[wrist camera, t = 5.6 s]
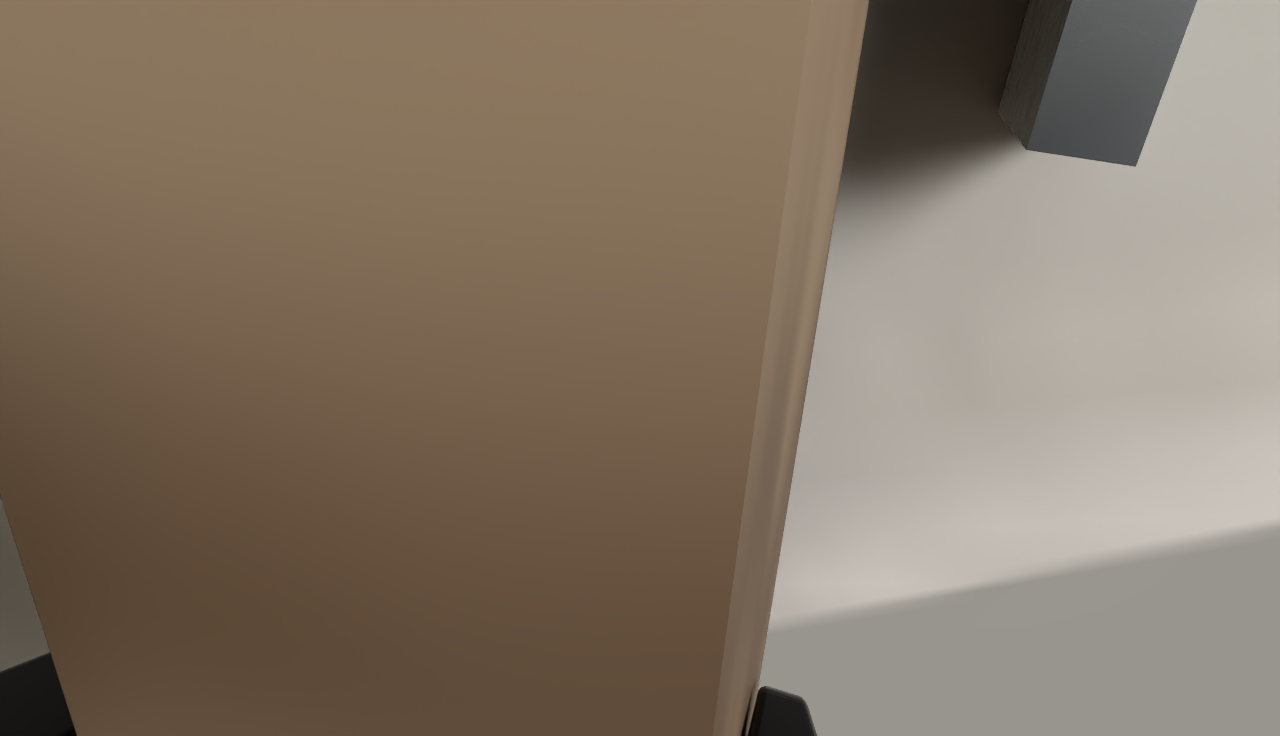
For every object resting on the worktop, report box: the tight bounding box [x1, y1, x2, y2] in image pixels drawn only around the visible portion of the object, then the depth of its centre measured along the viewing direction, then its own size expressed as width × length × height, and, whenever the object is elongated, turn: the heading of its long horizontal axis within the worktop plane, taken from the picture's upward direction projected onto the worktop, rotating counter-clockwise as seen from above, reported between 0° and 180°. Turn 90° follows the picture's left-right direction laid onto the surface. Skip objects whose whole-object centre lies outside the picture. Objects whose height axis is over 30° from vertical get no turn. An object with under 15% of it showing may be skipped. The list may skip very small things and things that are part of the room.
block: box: [0, 0, 869, 736], centre depth 6 cm, size 14×4×4 cm, turn 177°
